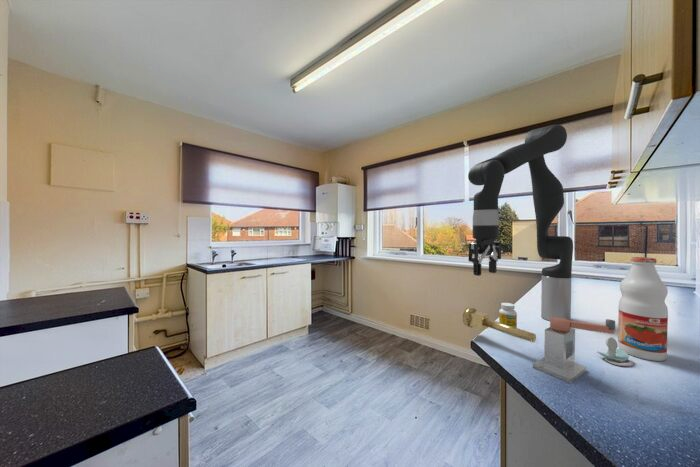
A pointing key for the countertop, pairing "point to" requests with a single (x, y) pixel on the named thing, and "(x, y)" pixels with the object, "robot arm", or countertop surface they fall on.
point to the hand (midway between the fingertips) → (485, 273)
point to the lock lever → (581, 325)
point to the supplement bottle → (508, 315)
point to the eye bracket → (560, 356)
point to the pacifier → (612, 355)
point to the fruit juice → (643, 312)
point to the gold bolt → (493, 324)
